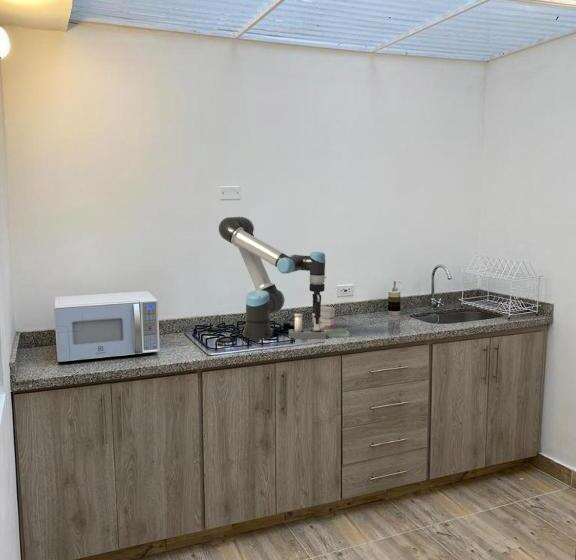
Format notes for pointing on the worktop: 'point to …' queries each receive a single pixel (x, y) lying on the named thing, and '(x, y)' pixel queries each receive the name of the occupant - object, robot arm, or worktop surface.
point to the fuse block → (307, 334)
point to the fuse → (298, 322)
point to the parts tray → (337, 333)
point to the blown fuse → (313, 324)
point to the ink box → (327, 317)
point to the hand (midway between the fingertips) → (316, 328)
